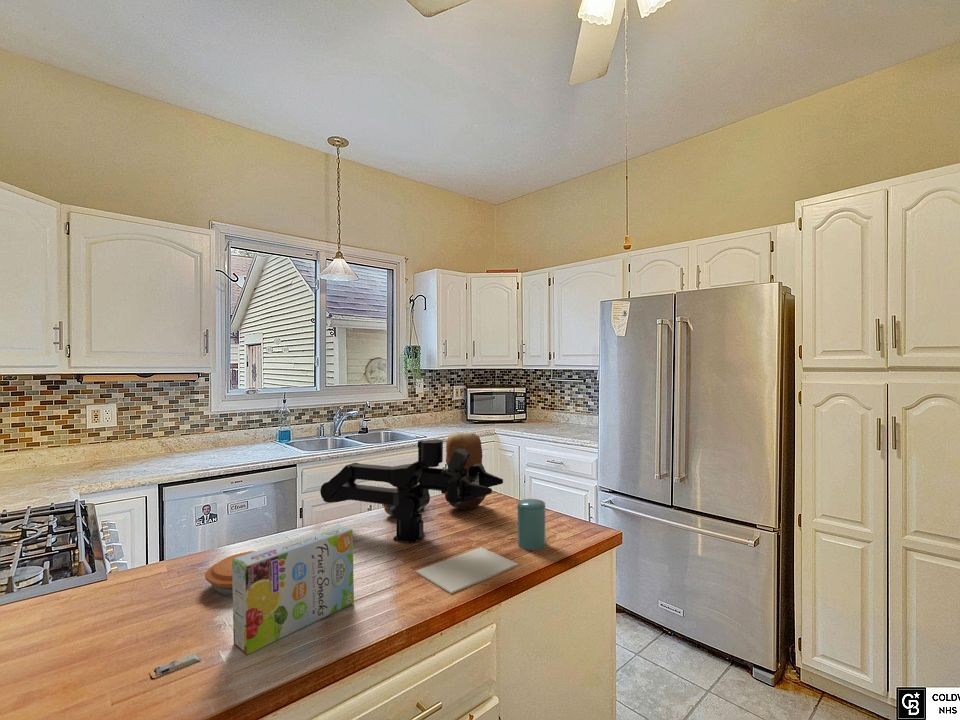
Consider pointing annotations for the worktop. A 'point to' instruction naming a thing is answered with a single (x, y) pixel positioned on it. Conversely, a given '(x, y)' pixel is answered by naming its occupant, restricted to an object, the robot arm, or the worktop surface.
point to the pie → (223, 575)
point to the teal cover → (531, 524)
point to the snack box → (291, 586)
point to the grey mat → (466, 569)
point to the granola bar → (177, 664)
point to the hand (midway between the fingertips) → (497, 486)
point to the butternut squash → (474, 448)
